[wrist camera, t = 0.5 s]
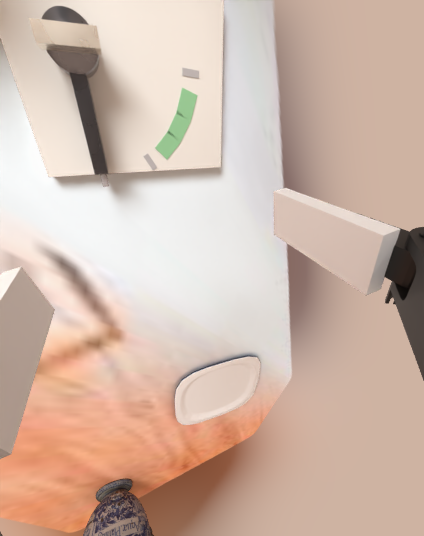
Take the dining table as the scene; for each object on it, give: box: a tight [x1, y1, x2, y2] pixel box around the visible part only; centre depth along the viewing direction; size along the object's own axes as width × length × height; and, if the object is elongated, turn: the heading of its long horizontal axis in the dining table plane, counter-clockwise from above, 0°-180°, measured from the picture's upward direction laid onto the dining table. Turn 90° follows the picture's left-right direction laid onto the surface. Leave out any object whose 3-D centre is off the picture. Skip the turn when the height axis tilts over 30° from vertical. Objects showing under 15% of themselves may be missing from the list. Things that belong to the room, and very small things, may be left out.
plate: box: [175, 356, 261, 425], centre depth 66 cm, size 25×25×2 cm
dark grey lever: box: [29, 6, 108, 174], centre depth 23 cm, size 13×5×5 cm, turn 0°
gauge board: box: [0, 0, 224, 187], centre depth 27 cm, size 18×22×2 cm
